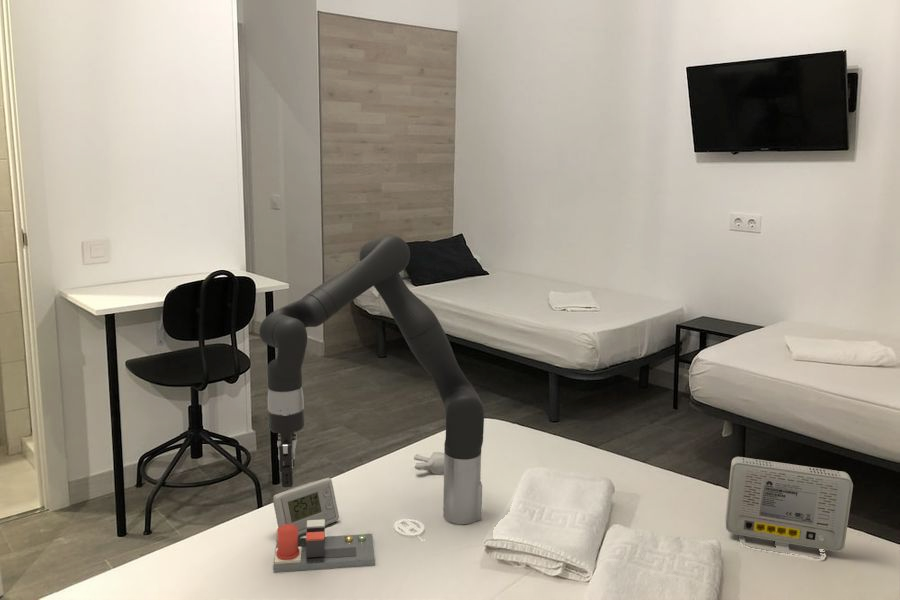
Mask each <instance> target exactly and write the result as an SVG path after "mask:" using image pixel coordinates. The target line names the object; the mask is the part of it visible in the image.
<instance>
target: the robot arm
mask: <svg viewBox="0 0 900 600" xmlns="http://www.w3.org/2000/svg"><path fill="white" fill-rule="evenodd" d="M410 259H411V251H410V247H409V245H408V244H407V242H406V241H405V240H404V239H403V238H401V237H399V236H397V235H385V236H382V237H381V236H380V237H379V238H376V239H373V240H371V241H367V242H365V244H363V246H362V247H361V249H360V251H359V262H357V263H356V264H354V265H353V266H351V267H350V268H348V269H347V270H344V271H343V272H341V273H339V274H337V275H336V276H333V277H331V278H330V279H328V280H326V281H325V282H323V283H322V284H320V285H318V286H317V287H316V288H314V289H312V290H310V292H308V293H307V294H306V295H305V296H303V297H302V298H301V299H299V300H296V301H294V302H292V303H288V304H287V305H284V306H282V307H280V308H278V309H275V310H274V311H272V312H271V313H270V314H268V315H267V316H266V317H265V318H264V319H263V320H262V322H261V324H260V327H259V331H258V332H259V337H260V339H261V341H263V343H264V344H266V345H268V346H270V347H272V348H275V349H277V357H276V358H274V359H272V360H271V361H270V362H269V363H268V365H267V421H268V429H269V430H270V431H271V432H272V433H276V434H277V440H276V442H277V443H276V445H277V448H278V449H277V451H278V455H277V458H278V460H279V472H280V473H281V486H282V487H283V488H293V485H294V480H293V479H294V478H293V471H294V470H295V459H296V448H297V439H298V438H297V437H298V436H297V432H300V431H302V430H303V428H304V427H305V403H304V401H305V398H304V390H303V379H302V378H303V376H302V375H303V374H302V373H303V372H302V371H303V370H302V368H303V363H304V359H305V354H306V350H307V345H308V331H307V328H315V327H316V328H317V327H320V326H321V325H322V324H323V323H325V322H326V321H328V320H329V319H330V318H332V317H334V316H335V315H336V314H337V313H338V312H340V311H342V309H344V308H345V307H346V306H348V305H349V304H350V303H352V302H353V301H354V300H356V299H357V298H358V297H359V296H361V295H362V294H363V293H365V292H366V291H368V290H369V289H371V288H372V287H374V288H375V290H376V292H378V294H379V296H380V297H381V299H382V301H384V303H385V305H386V307H387V309H388V310H389V312H390V314H391V316H392V318H393V319H394V321H395V323H396V325H397V327H398V328H399V331H400V332H401V335H402V337H403V339H404V340H405V343H407V346H408V347H409V350H410V351H411V353H412V354H413V355H414V357H415V358H416V360H417V361H418V362H419V364H420V365H421V367H422V368H423V369H424V370H425V371H426V372H427V373H428V374H429V377H431V379H432V381H433V383H434V384H435V386H436V388H437V389H436V390H437V391H438V393H439V396H440V398H441V400H442V404H443V407H444V413H445V440H444V443H443V444H444V451H443V453H444V474H443V498H442V499H443V503H442V504H443V505H442V516H443V518H444V520H446V521H447V522H449V523H452V524H455V525H468V524H473V523H475V522H476V521H481V520H482V511H483V508H482V507H483V506H482V505H483V483H482V481H481V480H482V479H481V478H482V477H481V475H482V474H481V472H482V466H481V465H482V448H483V443H484V431H485V430H484V428H485V410H484V406H483V403H482V400H481V398H480V396H479V393H477V390H476V389H475V388H474V387H473V385H472V384H471V383H470V381H469V380H468V379H467V377H466V375H465V374H464V372H463V371H462V369H461V367H460V366H459V364H458V361H457V359H456V356H455V354H454V351H453V348H452V346H451V343H450V341H449V339H448V336H447V334H446V333H445V330H444V328H443V326H442V324H441V323H440V321H439V319H438V318H437V316H436V314H435V313H434V312H433V310H432V309H431V308H430V306H428V305H427V304H426V303H425V302H423V300H422V299H420V298H419V297H418V296H417V295H415V294H414V292H413V291H412V290H410V288H409V287H408V286H407V285H406V283H405V281H404V279H403V277H402V276H401V274H400V273H401V272H403V271H404V270H405V269H406V268H407V266H408V265H409V262H410Z"/></svg>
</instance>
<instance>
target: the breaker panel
mask: <svg viewBox="0 0 900 600" xmlns="http://www.w3.org/2000/svg"><path fill="white" fill-rule="evenodd" d="M373 537H374V536H373V533H361V534H348V535H347V534H346V535H331V536H325V556H323V557H309V558H306V537H300V538H299V537H298V547H302V550H301V563H287V564H274V563H273V564H272V566H273V569H272V570H273V573H283V572H287V573H288V572H299V571H313V570H314V571H315V570H325V569H340V568H353V567H354V568H355V567H368V566H375V565H376V562H375V561H376V559H375V548H374V539H373ZM276 548H278V539H276V544H275V552H274V555H275V554H276ZM274 561H275V556H274V558H273V562H274Z"/></svg>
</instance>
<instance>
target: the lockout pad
mask: <svg viewBox="0 0 900 600" xmlns="http://www.w3.org/2000/svg"><path fill="white" fill-rule="evenodd" d="M298 548H299V555H298V556H297V557H296V558H294V559H290V560H283V559H279V558H278V557H277V555H276V554H275V553H274V557H275V561H274V560H273V565H274V564H287V563H301V550H302V547H298ZM275 550H276V552H277V550H278V548H276V547H275Z"/></svg>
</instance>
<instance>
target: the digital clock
mask: <svg viewBox="0 0 900 600" xmlns="http://www.w3.org/2000/svg"><path fill="white" fill-rule="evenodd" d="M272 501H273V502H272V503H273V507H274V513H275V516H276V517H275V518H276V523H277V524H276V525H277V528H278V527H280V526H282V525H285V524H293V525H296V526H297V527H298V538H299V537H301V536H304V535H306V533H307V520H322V519H325V527H328V526H329V525H331V524H333V523H335V522H338V521H339V519H340V515H339V510H338V505H337V500H336V495H335V490H334V485H333V481H332V478H331V477H326V478H322V479H319V480H313V481H310V482H307V483H304V484H301V485H298V486H297V485H296V486H294V487H290V488H289V489H287V490H285V491H282V492H279V493H276V494H274V495H273V497H272Z"/></svg>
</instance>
